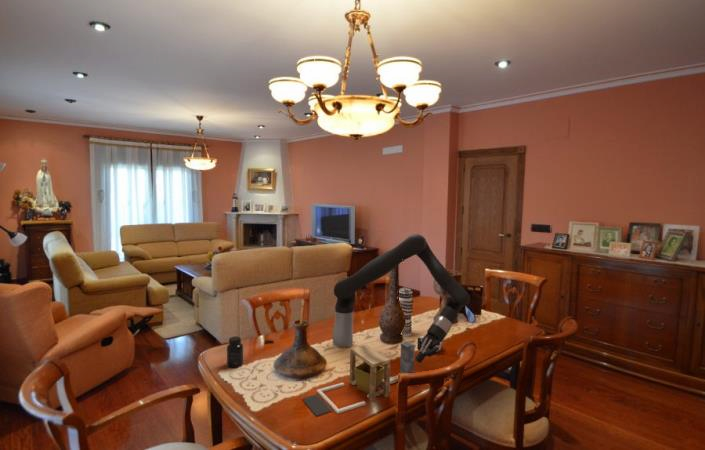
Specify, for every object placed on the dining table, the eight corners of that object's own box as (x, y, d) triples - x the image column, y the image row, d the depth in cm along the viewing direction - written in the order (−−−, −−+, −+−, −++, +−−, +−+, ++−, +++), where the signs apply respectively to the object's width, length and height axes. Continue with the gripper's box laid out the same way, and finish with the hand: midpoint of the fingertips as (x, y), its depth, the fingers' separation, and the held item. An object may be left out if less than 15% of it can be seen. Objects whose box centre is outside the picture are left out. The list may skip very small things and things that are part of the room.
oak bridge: (366, 378, 155) (367, 344, 153) (389, 396, 141) (390, 359, 140) (349, 382, 150) (350, 348, 149) (371, 402, 137) (372, 364, 136)
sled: (401, 370, 162) (402, 338, 160) (419, 382, 152) (421, 348, 150) (352, 384, 149) (353, 349, 147) (368, 398, 139) (369, 361, 137)
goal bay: (342, 384, 149) (342, 382, 149) (365, 404, 135) (365, 402, 135) (316, 391, 143) (316, 389, 143) (337, 413, 129) (337, 411, 129)
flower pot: (366, 381, 152) (367, 360, 151) (384, 389, 146) (385, 367, 146) (352, 390, 145) (353, 367, 144) (370, 398, 140) (371, 375, 139)
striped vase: (414, 332, 207) (416, 288, 205) (408, 337, 199) (410, 291, 197) (399, 329, 212) (400, 285, 210) (392, 334, 204) (394, 289, 202)
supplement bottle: (226, 362, 166) (226, 336, 164) (242, 360, 168) (242, 334, 167) (227, 369, 159) (227, 342, 158) (243, 367, 162) (243, 340, 160)
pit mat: (316, 395, 141) (316, 394, 141) (331, 411, 130) (331, 410, 130) (302, 399, 138) (302, 398, 138) (316, 416, 127) (316, 415, 127)
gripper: (425, 319, 167) (402, 350, 162) (446, 328, 156) (423, 363, 151) (433, 328, 171) (411, 360, 165) (455, 338, 159) (432, 372, 154)
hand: (417, 361), depth 158 cm, fingers closed
